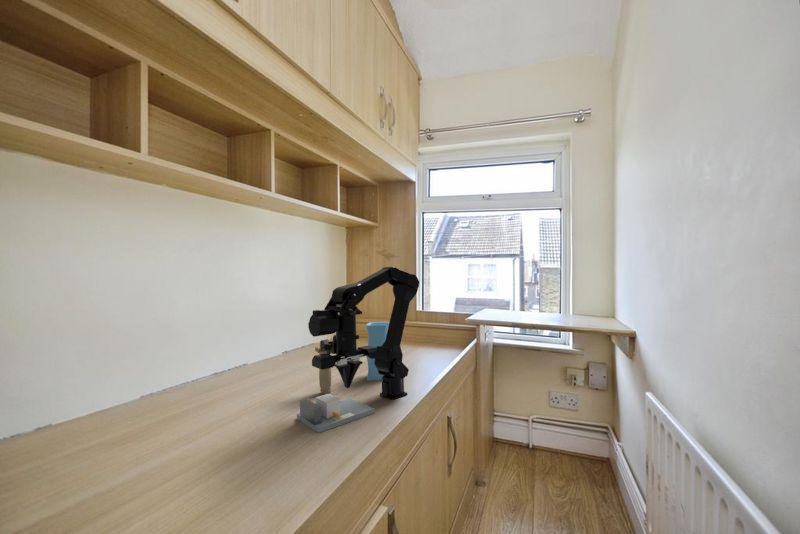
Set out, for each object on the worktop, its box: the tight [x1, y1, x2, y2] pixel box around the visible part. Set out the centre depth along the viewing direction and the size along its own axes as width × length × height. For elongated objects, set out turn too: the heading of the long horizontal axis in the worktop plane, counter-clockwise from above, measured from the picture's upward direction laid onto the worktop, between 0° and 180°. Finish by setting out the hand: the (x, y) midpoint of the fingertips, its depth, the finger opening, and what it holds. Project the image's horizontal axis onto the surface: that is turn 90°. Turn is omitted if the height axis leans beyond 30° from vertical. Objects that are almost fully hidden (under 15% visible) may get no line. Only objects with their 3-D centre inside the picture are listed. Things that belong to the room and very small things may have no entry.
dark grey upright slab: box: [299, 398, 322, 425], centre depth 88 cm, size 2×8×4 cm, turn 42°
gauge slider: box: [315, 393, 341, 418], centre depth 91 cm, size 4×9×4 cm, turn 42°
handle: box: [314, 345, 332, 395], centre depth 113 cm, size 5×6×15 cm
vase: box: [365, 321, 390, 381], centre depth 129 cm, size 8×8×20 cm
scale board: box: [296, 397, 375, 434], centre depth 93 cm, size 17×12×2 cm
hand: (347, 387), depth 96 cm, fingers closed
